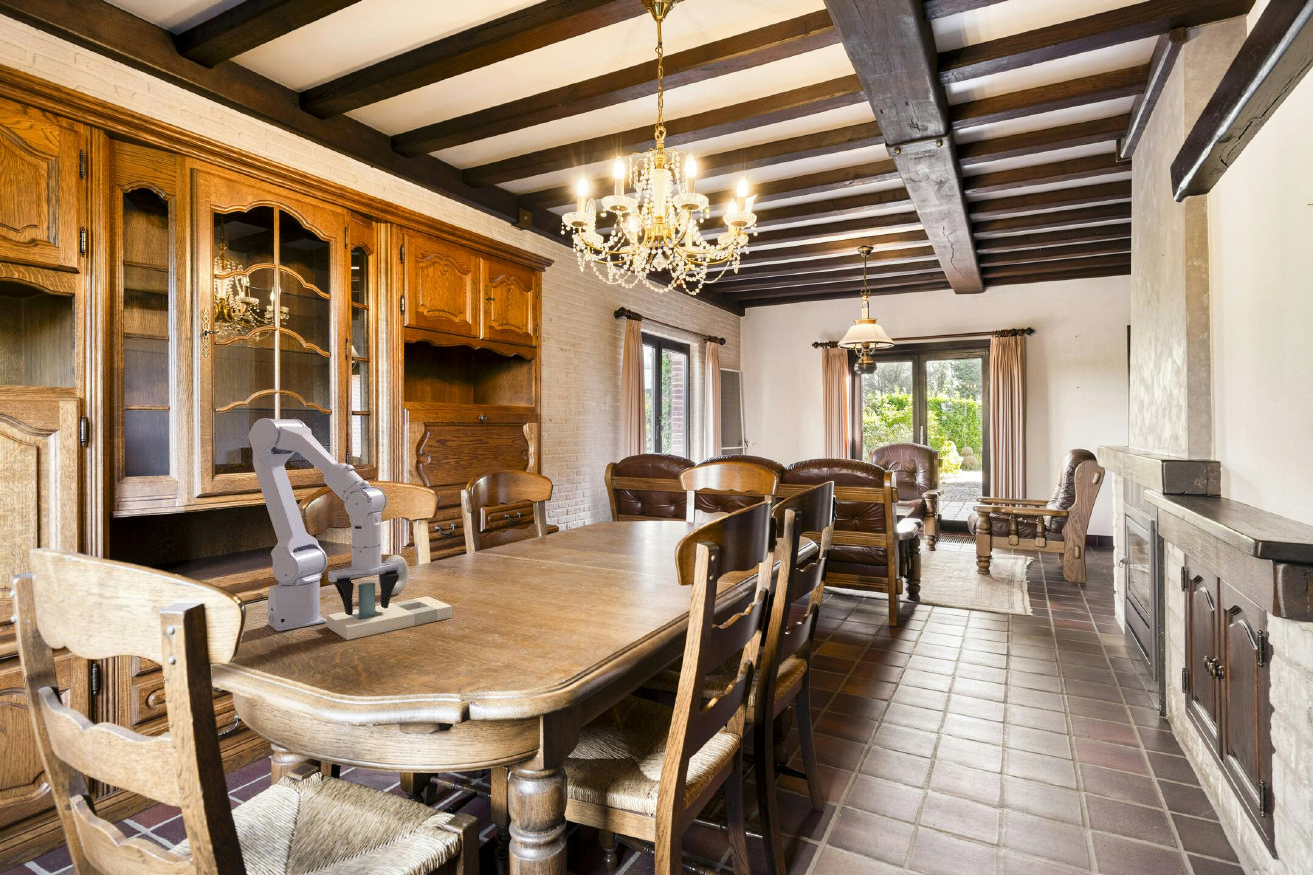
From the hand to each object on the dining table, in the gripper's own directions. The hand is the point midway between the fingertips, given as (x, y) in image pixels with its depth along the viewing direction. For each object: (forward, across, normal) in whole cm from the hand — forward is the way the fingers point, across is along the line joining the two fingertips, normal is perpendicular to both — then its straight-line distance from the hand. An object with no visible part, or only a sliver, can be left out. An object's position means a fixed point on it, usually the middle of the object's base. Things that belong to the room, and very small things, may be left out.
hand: (367, 610), depth 137 cm
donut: (+4, +15, +23) cm, 28 cm away
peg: (+3, 0, 0) cm, 3 cm away
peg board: (+3, +5, 0) cm, 6 cm away
